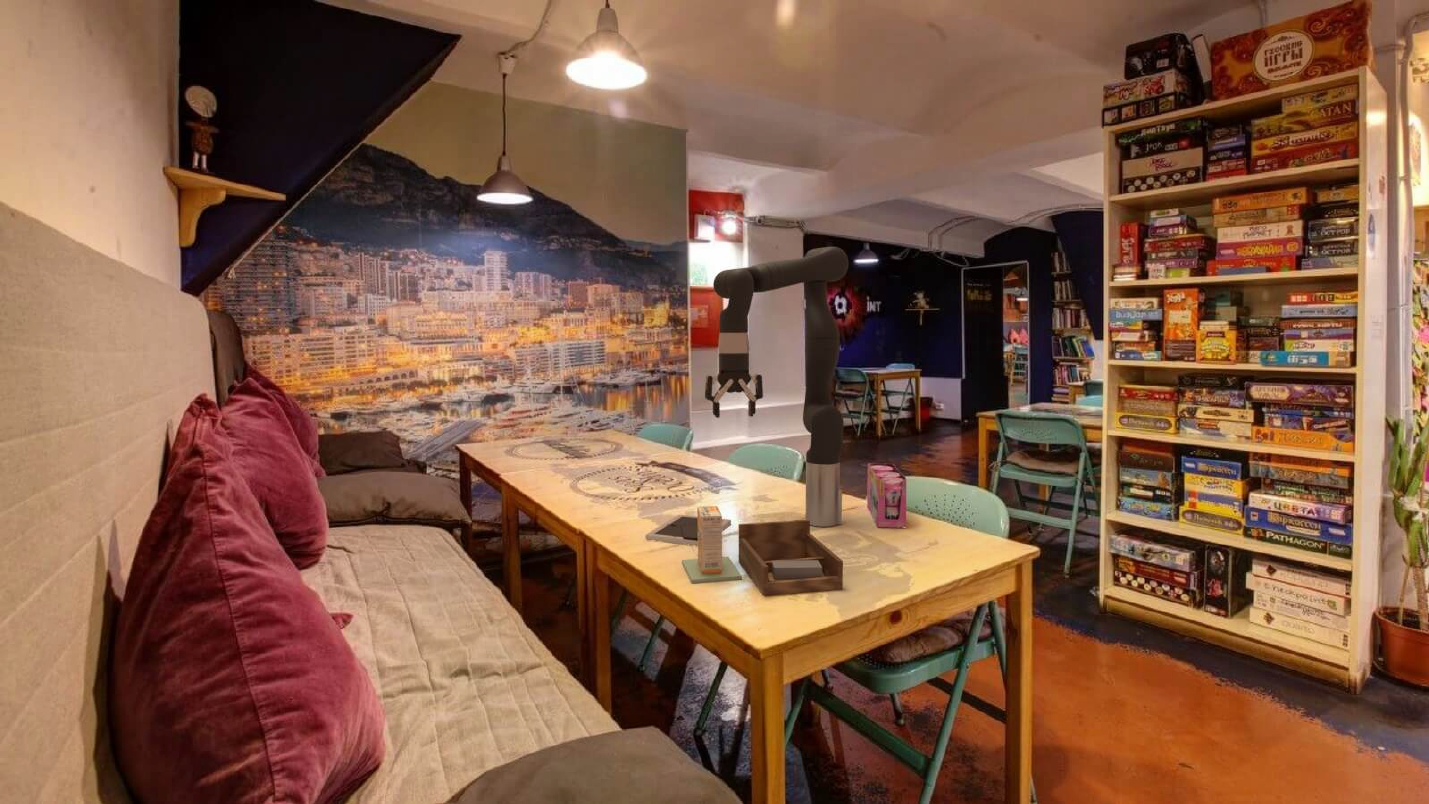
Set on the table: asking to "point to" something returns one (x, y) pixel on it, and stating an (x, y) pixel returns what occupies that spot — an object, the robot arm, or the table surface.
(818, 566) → the upper offcut
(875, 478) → the gum box
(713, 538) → the supplement box
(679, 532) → the picture frame
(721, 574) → the pad
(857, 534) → the table surface
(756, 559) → the rack
